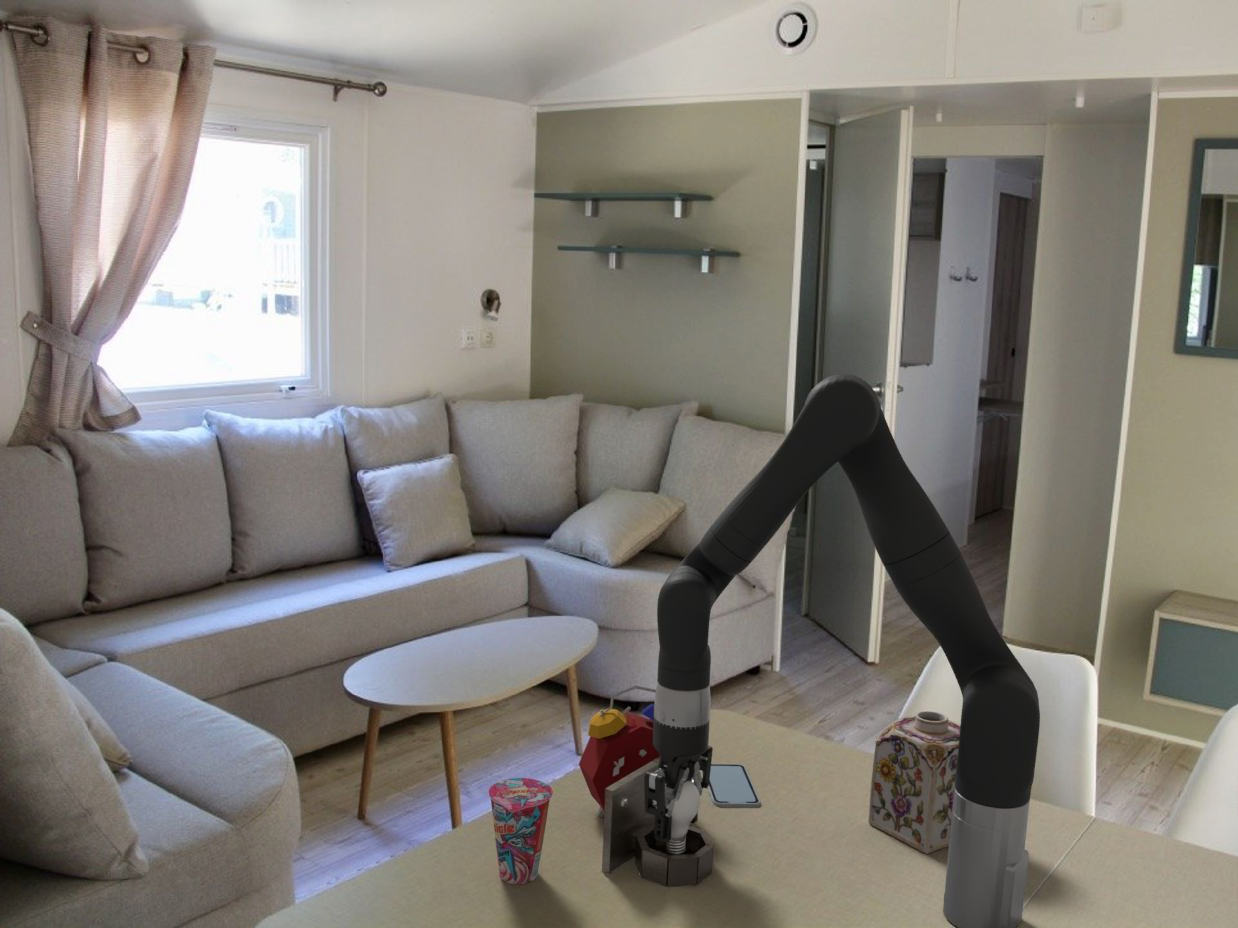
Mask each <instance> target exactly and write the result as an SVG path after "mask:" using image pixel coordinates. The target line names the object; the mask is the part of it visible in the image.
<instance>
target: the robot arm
mask: <svg viewBox="0 0 1238 928" xmlns="http://www.w3.org/2000/svg"><path fill="white" fill-rule="evenodd" d="M837 463H838V464H839V466H840V468H842V470H843V472H844V473H845V475H846V477H847V479H848V481H849V482H850V484H851V486H852V487H853V490H854V492H855V495H856V498H857V500H858V504H859V507H860V509H861V512H862V516H863V519H864V522H865V524H866V528H867V529H868V533H869V536H870V538H871V540H872V543H873V546H874V548H875V550H876V552H877V554H878V555H877V556H878V557H879V559H880V561H881V563H882V565H883V567H884V569H885V570H886V572H887V574H888V576H889V578H890V579H891V581H892V584H893V585H894V587H895V589H896V590H897V592H898V594H899V595H900V597H901V599H902V600H903V601H904V603H905V604H906V605H907V606H908V608H909V609H910V611H911V612H912V613H913V614H914V615H915V617H916V618H918V620H919V621H920V622H921V623H922V625H924V627H925V628H927V630H928V631H929V632H930V633H931V634H932V636H933V637H934V638H935V640H936V641H937V642H938V643H937V644H939V646H940V647H941V649H942V651H943V653H944V655H945V657H946V660H948V661H947V662H948V663H949V665H950V668H951V671H952V672H953V674H954V676H955V679H956V682H957V684H958V687H959V689H960V692H961V695H962V707H961V713H960V714H961V715H960V723H959V725H960V735H959V747H958V758H957V765H956V777H955V788H954V799H953V809H952V819H951V830H950V841H949V846H948V852H947V854H948V855H947V865H946V875H945V884H944V893H943V909H942V912H943V914H944V917H945V918H946V919H947V921H948V922H950V923H951V924H952V925H954V926H955V927H957V928H1017V926H1019V924H1020V922H1021V921H1022V919H1023V911H1024V903H1025V901H1024V900H1025V893H1026V882H1027V875H1028V864H1029V855H1030V854H1029V853H1030V852H1029V851H1028V850H1026V849H1025V848H1026V839H1027V829H1028V820H1029V812H1030V811H1029V810H1030V801H1031V793H1032V788H1033V787H1032V786H1033V783H1034V779H1035V770H1036V769H1035V768H1036V761H1037V752H1038V745H1039V737H1040V726H1041V725H1040V723H1041V713H1040V710H1041V709H1040V703H1039V700H1040V699H1039V694H1038V690H1037V689H1036V686H1035V684H1034V681H1033V680H1032V679H1031V678H1030V675H1029V673H1027V671H1026V670H1025V669H1024V667H1023V666H1022V665H1021V663H1020V662H1019V660H1018V658H1016V656H1015V654H1013V652H1012V650H1011V649H1010V647H1009V646H1008V643H1006V641H1005V639H1004V638H1003V636H1002V635H1001V633H1000V632H999V631H998V629H997V628H996V626H995V624H994V622H993V620H992V618H991V616H990V614H989V612H988V610H987V607H986V605H985V601H984V599H983V597H982V595H981V592H980V590H979V588H978V585H977V584H976V581H975V579H974V577H973V575H972V573H971V571H970V568H969V567H968V564H967V563H966V560H965V559H964V556H963V554H962V552H961V550H960V548H959V547H958V544H957V542H956V541H955V539H954V538H953V535H952V533H951V532H950V530H949V528H948V526H947V524H945V522H944V520H943V518H942V517H941V514H940V513H939V512H938V510H937V509H936V507H935V505H934V504H933V502H932V501H931V499H930V497H929V496H928V494H927V493H926V491H925V489H923V487H922V486H921V484H920V482H919V481H918V479H917V478H916V477H915V476H914V474H913V473H912V471H911V470H910V468H909V466H908V465H907V463H906V461H905V459H904V457H903V456H902V454H901V452H900V450H899V448H898V446H897V443H896V442H895V439H894V437H893V434H892V431H891V430H890V427H889V425H888V421H887V419H886V418H885V414H884V412H883V409H882V407H881V404H880V400H879V397H878V395H877V393H876V391H875V390H874V389H873V387H872V386H871V385H870V383H868V382H867V381H865V380H863V378H861V377H858V376H856V375H853V374H848V373H847V374H846V373H839V374H834V375H833V374H832V375H831V376H828V377H826V378H824V379H822V380H821V381H820V382H819V383H817V384H816V385H815V386H814V387H813V388H812V389H811V390H810V392H809V393H808V395H807V396H806V399H805V401H804V405H803V408H802V409H801V411H800V413H799V414H798V416H797V418H796V420H795V421H794V423H793V425H792V427H791V428H790V430H789V432H788V433H787V435H786V437H785V438H784V439H783V442H781V444H780V445H779V447H778V448H777V449H776V451H775V452H774V454H773V455H772V457H770V459H769V460H768V461H767V462H766V463H765V465H764V466H763V467H762V468H761V469H760V470H759V471H758V472H757V474H756V475H755V476H754V477H753V478H752V479H751V480H750V481H749V482H748V483H747V484H746V485H745V486H744V487H743V488H742V489H741V491H739V493H738V494H737V495H736V496H735V497H733V499H732V500H731V501H730V503H729V504H728V505H727V506H726V507H725V508H724V510H723V511H722V512H721V514H719V516H718V517H717V518H716V520H715V521H714V522H713V523H712V524H711V525H710V527H709V528H708V529H707V530H706V532H705V533H704V535H703V537H702V538H701V540H700V541H699V543H697V545H695V546H694V548H692V549H691V550H690V552H689V553H688V554H687V555H686V556H685V557H684V558H683V559H682V560H681V561H680V562H679V563H678V565H677V566H676V567H674V569H673V570H672V571H671V573H670V574H669V575H668V577H667V578H666V579H665V581H664V583H663V585H662V586H661V588H660V590H659V593H658V598H657V605H656V606H657V607H656V611H657V612H656V617H657V619H656V620H657V621H656V622H657V632H658V633H657V634H658V635H657V637H658V643H659V651H658V657H657V658H658V660H657V677H656V679H657V680H656V681H657V682H656V688H655V690H656V692H654V703H653V704H654V724H653V746H654V748H655V749H656V750H657V751H658V752H659V754H660V760H659V764H658V770H656V771H655V772H654V773H652V772H649V771H647V772H646V773H645V776H644V786H645V812H646V813H649V814H652V815H655V827H654V829H655V830H654V836H655V838H656V839H657V840H660V841H663V842H668V841H669V840H670V839H671V825H672V815H671V814H672V811H673V808H674V804H675V801H678V800H679V799H680V795H681V792H682V789H683V785H684V783H685V782H687V781H692V782H693V783H694V784H695V786H696V787H697V789H698V791H699V794H700V797H702V794H703V790H704V789H708V786H709V779H710V770H711V764H712V759H713V747H712V746H711V745H709V741H710V740H709V739H710V719H711V704H712V703H711V689H710V687H711V686H710V685H711V683H710V682H711V681H710V680H711V667H712V666H711V664H712V654H711V647H710V645H709V632H710V630H709V629H710V620H711V619H710V618H711V613H712V608H713V606H714V604H715V603H716V601H717V600H718V599H719V597H720V596H721V595H722V594H723V592H724V591H725V590H726V588H727V587H728V585H730V583H731V582H732V581H733V580H734V578H735V577H736V575H739V574H741V573H742V572H743V571H744V570H745V569H747V567H749V565H750V564H751V563H752V562H753V561H754V560H755V559H756V557H757V556H758V555H759V554H760V553H761V551H763V549H764V548H765V546H767V544H768V543H769V542H770V541H771V540H772V539H773V537H774V536H775V535H776V533H777V532H778V531H779V529H780V528H781V527H782V525H783V524H784V523H785V522H786V520H787V518H788V517H789V516H791V515H790V514H791V513H792V512H793V510H795V507H797V506H798V504H799V503H800V501H801V500H802V499H803V497H804V496H805V495H806V494H807V493H808V492H809V491H810V489H811V488H812V487H813V486H814V485H815V484H816V483H817V482H818V480H820V478H822V477H823V476H824V475H825V474H826V473H827V472H828V471H829V470H830V469H831V468H832V467H834V465H836V464H837ZM702 771H703V772H702ZM701 772H702V775H701ZM665 786H666V787H668V788H671V789H674V791H673V792H672V793H670V792H667V791H665ZM665 797H667V798H668V802H667V806H666V807H665ZM653 800H654V804H653ZM698 817H699V811H698V812H697V814H696V816H695V817H694V818H693V819H692V821H691V822H690V824H692V825H693V824H695V823H697V822H698Z"/></svg>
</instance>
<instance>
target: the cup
mask: <svg viewBox="0 0 1238 928" xmlns="http://www.w3.org/2000/svg"><path fill="white" fill-rule="evenodd" d="M553 791H554V790H553V789H552V787H551V786H550V785H549V784H548V783H546V782H543V781H542V780H539V779H535V778H527V777H514V778H505V779H503V780H500V781H498V782H496V783H494V784H493V785H491V786H490V788H489V790H488V797H489V799H490V803H491V811H492V818H493V819H492V820H493V828H494V829H493V830H494V839H495V846H496V847H495V848H496V854H497V856H496V857H497V864H498V871H499V872H498V873H499V874H498V875H499V878H500V879H501V880H503V881H504V883H505V882H506V883H508V884H513V885H523V884H524V885H525V884H529V883H531V882H534V881H535V879H537V878H538V875H539V868H540V862H541V855H542V851H543V844H544V837H545V833H546V832H545V831H546V826H547V819H548V814H549V813H548V811H549V806H550V801H551V798H552V796H553Z"/></svg>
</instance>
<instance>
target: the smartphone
mask: <svg viewBox="0 0 1238 928" xmlns="http://www.w3.org/2000/svg"><path fill="white" fill-rule="evenodd" d="M701 772H702V773H703V771H701ZM707 790H708V793H709V796H710V799H711V801H712V804H713V806H716V807H719V808H720V807H721V808H724V807H725V808H756V807H759V806H760V805H761V800H760V798H759V795H758V793H757V791H756V789H755V787H754V784H753V782H752V779H751V777H750V775H749V773H748V771H747V768H746V766H745V765H743V764H740V763H711V770H710V779H709V786H708V787H707Z"/></svg>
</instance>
